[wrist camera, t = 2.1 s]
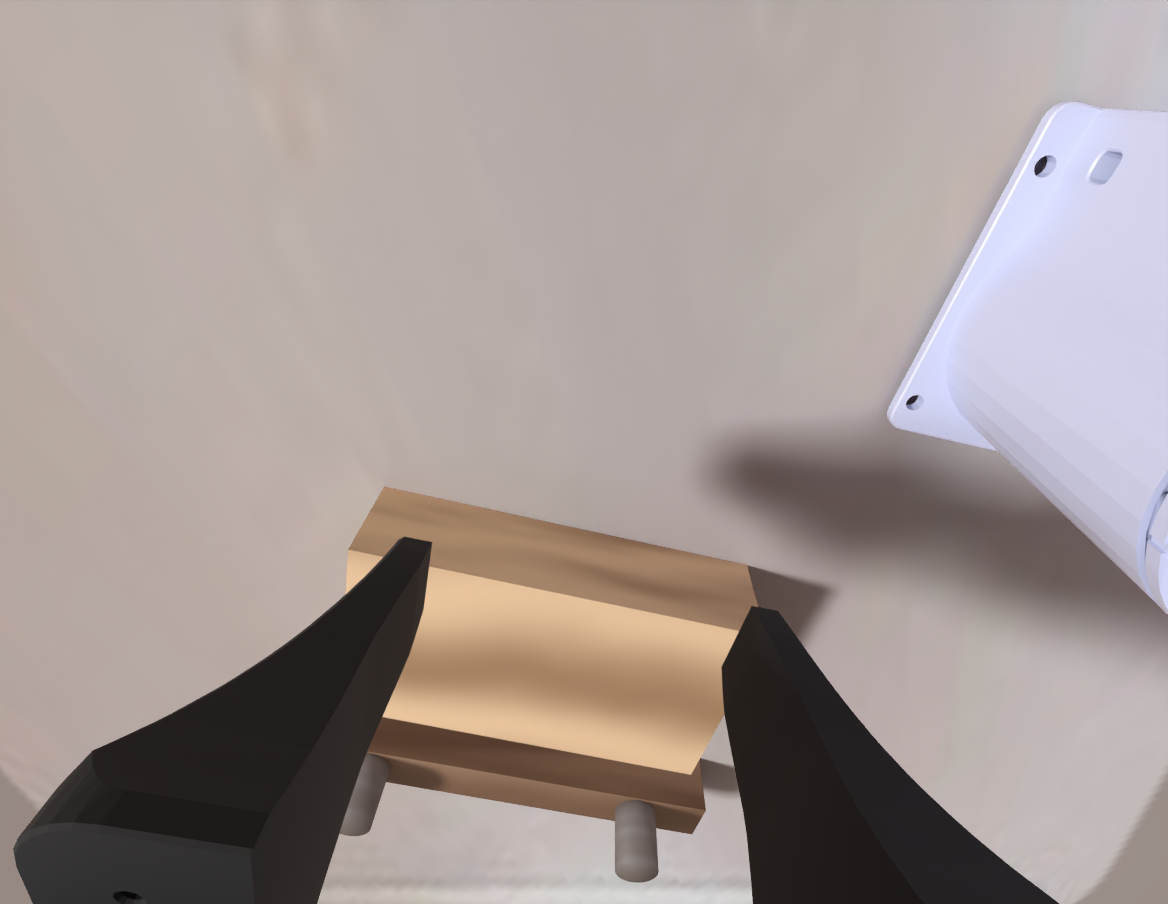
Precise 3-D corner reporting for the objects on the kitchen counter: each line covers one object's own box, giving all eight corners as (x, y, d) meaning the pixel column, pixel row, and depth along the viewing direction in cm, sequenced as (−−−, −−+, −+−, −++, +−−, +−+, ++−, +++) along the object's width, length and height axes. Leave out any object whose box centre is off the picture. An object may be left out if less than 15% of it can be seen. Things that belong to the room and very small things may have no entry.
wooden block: (387, 481, 23) (348, 549, 20) (745, 559, 25) (766, 636, 21) (373, 630, 27) (338, 708, 24) (681, 691, 29) (691, 774, 25)
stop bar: (323, 690, 29) (272, 796, 25) (699, 758, 30) (713, 870, 26) (322, 717, 30) (273, 824, 26) (686, 782, 31) (698, 894, 27)
